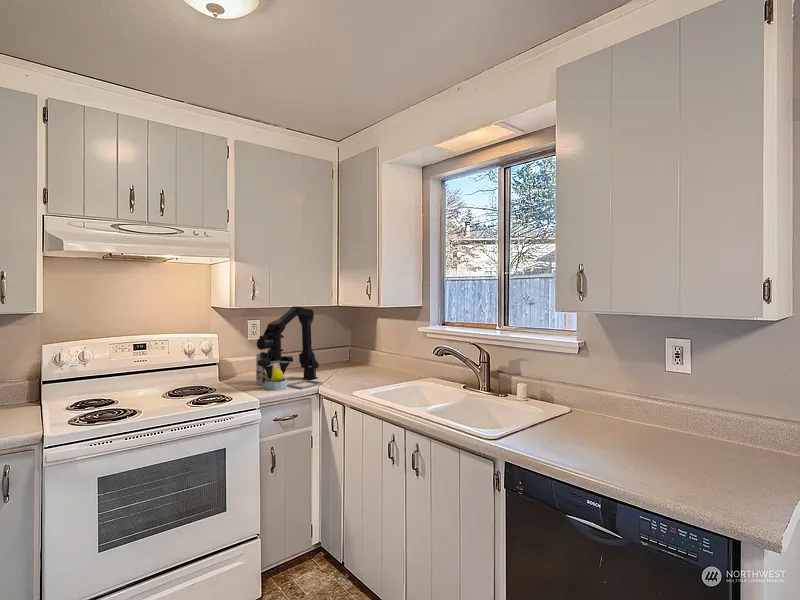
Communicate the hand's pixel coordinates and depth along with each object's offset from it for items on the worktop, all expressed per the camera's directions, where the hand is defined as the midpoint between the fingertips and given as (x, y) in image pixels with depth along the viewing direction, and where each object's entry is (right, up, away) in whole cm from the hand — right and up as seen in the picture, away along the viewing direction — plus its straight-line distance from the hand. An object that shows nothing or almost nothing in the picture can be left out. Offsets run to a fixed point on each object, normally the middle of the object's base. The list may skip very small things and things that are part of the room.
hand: (276, 377), depth 238 cm
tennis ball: (0, -3, 0) cm, 3 cm away
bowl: (0, -5, 0) cm, 5 cm away
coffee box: (-8, -5, +12) cm, 16 cm away
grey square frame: (+13, -5, +6) cm, 16 cm away
